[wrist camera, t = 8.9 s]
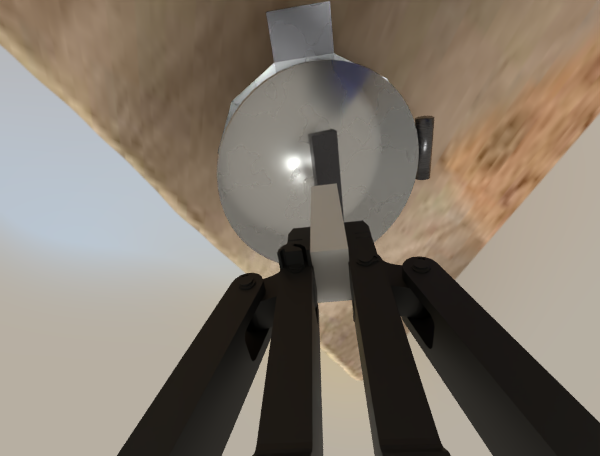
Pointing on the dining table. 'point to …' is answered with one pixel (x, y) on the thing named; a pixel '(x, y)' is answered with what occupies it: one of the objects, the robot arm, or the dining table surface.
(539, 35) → the dining table surface
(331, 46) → the pot
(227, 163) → the lid
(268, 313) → the robot arm
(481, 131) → the dining table surface
